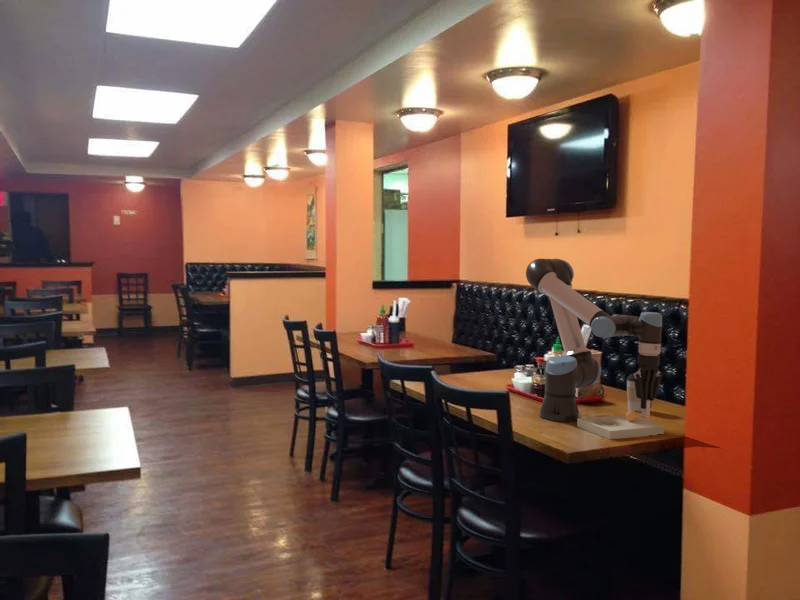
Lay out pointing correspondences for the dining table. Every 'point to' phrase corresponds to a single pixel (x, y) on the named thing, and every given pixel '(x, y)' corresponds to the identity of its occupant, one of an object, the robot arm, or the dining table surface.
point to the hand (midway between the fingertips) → (645, 417)
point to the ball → (631, 416)
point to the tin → (591, 390)
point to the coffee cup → (632, 395)
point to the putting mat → (619, 427)
